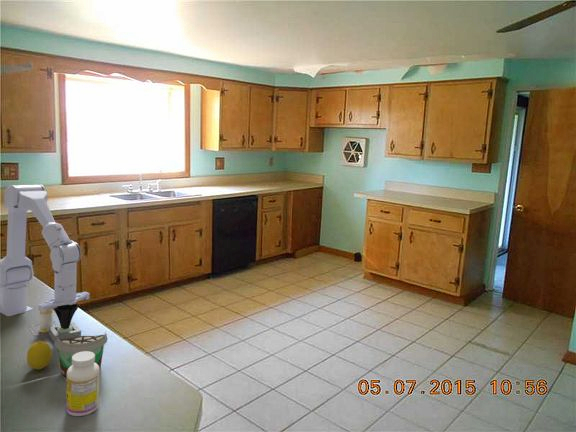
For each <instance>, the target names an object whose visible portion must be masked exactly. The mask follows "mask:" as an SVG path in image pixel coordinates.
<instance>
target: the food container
mask: <svg viewBox="0 0 576 432" xmlns="http://www.w3.org/2000/svg"><path fill="white" fill-rule="evenodd" d="M107 342H108V335H107V333H106V332H104V334H100V335H99V334H98V335H81V336H79V337H75V338H70V339H62V340H59V339H58V337H57V339H56V341H55V343H54V346H55V348H56V349H57V350H58V351H57V352H58V359H59V366H60V368H59V369H60V374H61V376H62V377H63V378H65V379H67V370H68V369H69V367H70V366H72V356H73V355H74V354H76V353H78V352H83V351H90V352H93V353H94V354H95V361H94V362H95V363H96V364H98V366H99V369H100V370H101V368H102V363H103V362H102V359H103V356H104V355H103V353H104V348H105V347H104V346H105V345H106V343H107ZM100 370H99V372H100Z"/></svg>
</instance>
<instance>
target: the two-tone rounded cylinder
mask: <svg viewBox="0 0 576 432" xmlns="http://www.w3.org/2000/svg"><path fill="white" fill-rule="evenodd" d="M53 312H54V310H53V309H50V310H46V312H41V311H39V324H40V325H39V332H40V333H41V334H42V333H47V332H49V327H51V326H54V325H53V324H54V321H53V320H54V319H53V317H54V316H53V315H54V314H53ZM47 334H48V333H47Z"/></svg>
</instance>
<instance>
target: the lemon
mask: <svg viewBox="0 0 576 432" xmlns="http://www.w3.org/2000/svg"><path fill="white" fill-rule="evenodd" d="M52 355H53V352H52V348H51V345H50V344H49V343H48V342H46V341H43V340H38V341H36V342H34V343H32V344H31V345H30V346H29V348H28V350H27V353H26V361H27V365H28V366H29V367H30V368H31V369H33V370H37V371H41V370H42V369H44V368H45V367H47V366H48V365H49V364H50V362H51V361H52V358H53V357H52Z"/></svg>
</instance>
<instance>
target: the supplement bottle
mask: <svg viewBox="0 0 576 432" xmlns="http://www.w3.org/2000/svg"><path fill="white" fill-rule="evenodd" d="M94 361H95V354H94V353H93V352H90V351H83V352H78V353H76V354H74V355H73V356H72V366H70V367H69V369H68V370H67V378H66V388H65V389H66V392H65V393H66V394H65V395H66V398H65V399H66V400H65V401H66V402H65V403H66V404H65V407H66V408H65V409H66V412H67V413H68V415H70V416H73V417H84V416H88V415H91V414H92V413H93V412H95V411H96V410H97V409H98V407H99V405H100V403H99V401H100V400H99V399H100V371H99V370H101V368H100V369H99V366H98V364H96V363H95V362H94Z"/></svg>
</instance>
